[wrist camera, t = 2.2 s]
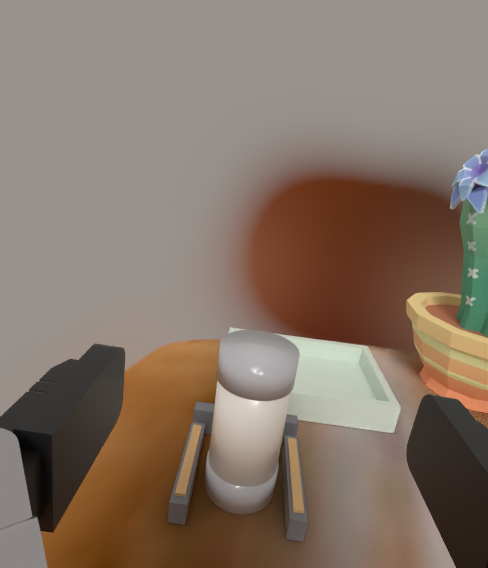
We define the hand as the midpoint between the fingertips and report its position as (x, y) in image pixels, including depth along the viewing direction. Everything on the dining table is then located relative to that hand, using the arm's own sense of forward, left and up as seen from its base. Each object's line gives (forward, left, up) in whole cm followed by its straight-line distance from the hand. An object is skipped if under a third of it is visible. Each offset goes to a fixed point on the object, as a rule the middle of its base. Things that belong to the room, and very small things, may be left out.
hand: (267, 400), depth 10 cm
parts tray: (-5, -24, -14) cm, 29 cm away
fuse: (0, -11, -14) cm, 18 cm away
